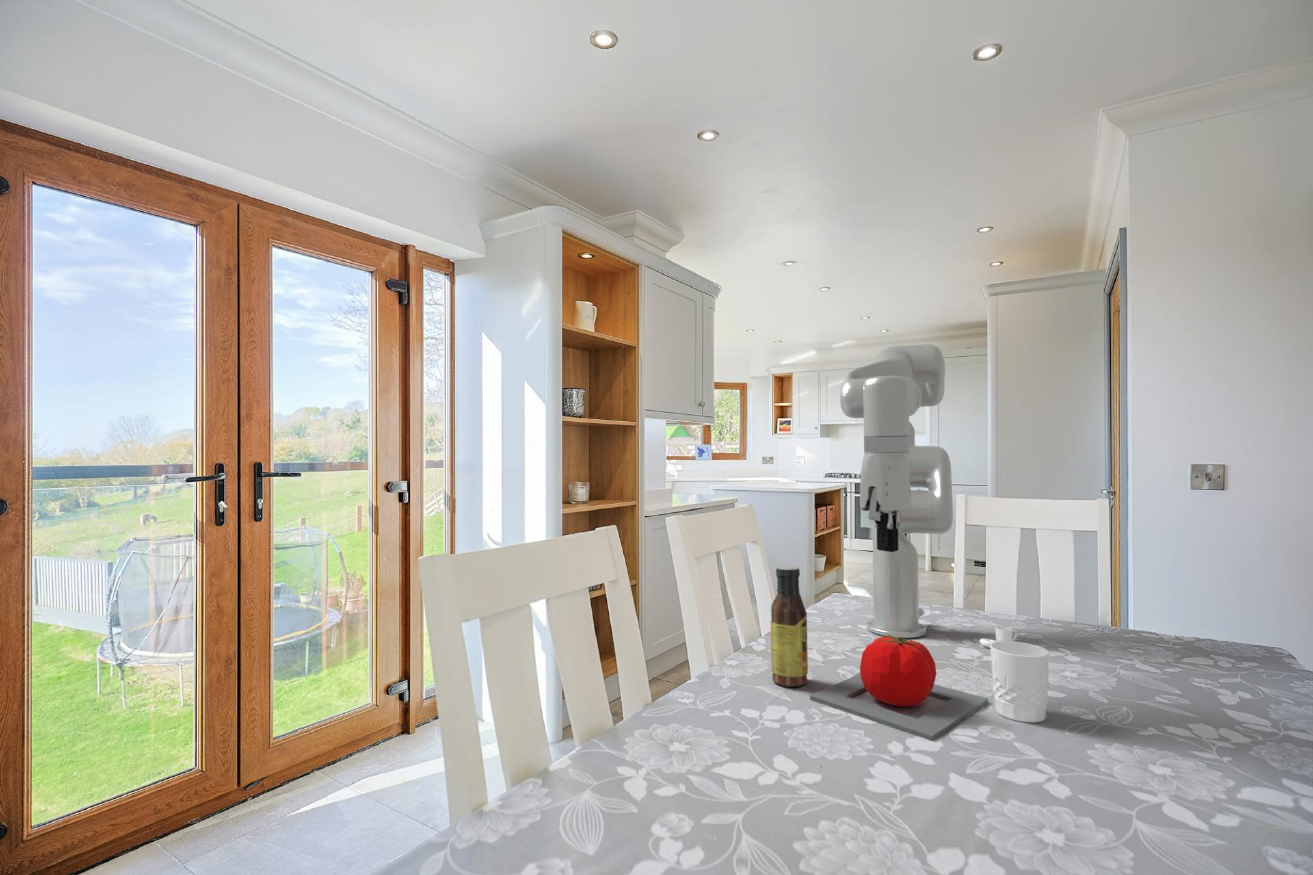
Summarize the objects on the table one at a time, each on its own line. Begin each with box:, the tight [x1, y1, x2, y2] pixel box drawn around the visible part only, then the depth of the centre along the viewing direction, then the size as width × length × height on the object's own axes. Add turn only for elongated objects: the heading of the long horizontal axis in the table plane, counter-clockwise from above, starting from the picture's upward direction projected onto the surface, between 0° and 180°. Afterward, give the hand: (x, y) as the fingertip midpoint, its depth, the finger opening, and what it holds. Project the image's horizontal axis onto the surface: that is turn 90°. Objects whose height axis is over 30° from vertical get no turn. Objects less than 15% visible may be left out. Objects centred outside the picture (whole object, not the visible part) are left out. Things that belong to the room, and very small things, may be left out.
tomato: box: [859, 634, 937, 708], centre depth 103 cm, size 12×12×10 cm
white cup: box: [989, 640, 1050, 724], centre depth 98 cm, size 8×8×10 cm
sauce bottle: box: [770, 565, 809, 688], centre depth 112 cm, size 6×6×20 cm
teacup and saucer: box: [979, 625, 1018, 649], centre depth 132 cm, size 9×8×4 cm
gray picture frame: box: [809, 673, 989, 741], centre depth 103 cm, size 20×20×1 cm
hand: (887, 550), depth 112 cm, fingers closed
